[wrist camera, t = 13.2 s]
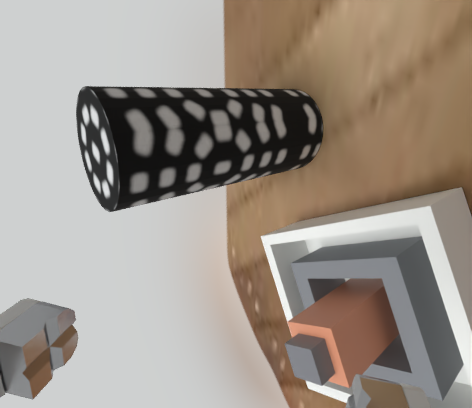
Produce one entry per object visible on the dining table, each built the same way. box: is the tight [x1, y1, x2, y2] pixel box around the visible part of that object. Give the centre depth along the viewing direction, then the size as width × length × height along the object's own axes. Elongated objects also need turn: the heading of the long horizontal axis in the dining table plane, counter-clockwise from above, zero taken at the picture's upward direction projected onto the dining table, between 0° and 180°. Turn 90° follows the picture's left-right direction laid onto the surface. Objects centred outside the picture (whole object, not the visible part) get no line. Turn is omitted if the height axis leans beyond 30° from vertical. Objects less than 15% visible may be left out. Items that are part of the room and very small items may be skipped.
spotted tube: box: [76, 86, 323, 212], centre depth 26 cm, size 8×8×20 cm
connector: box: [285, 278, 400, 388], centre depth 24 cm, size 4×4×12 cm
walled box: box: [261, 187, 472, 408], centre depth 26 cm, size 16×16×6 cm
